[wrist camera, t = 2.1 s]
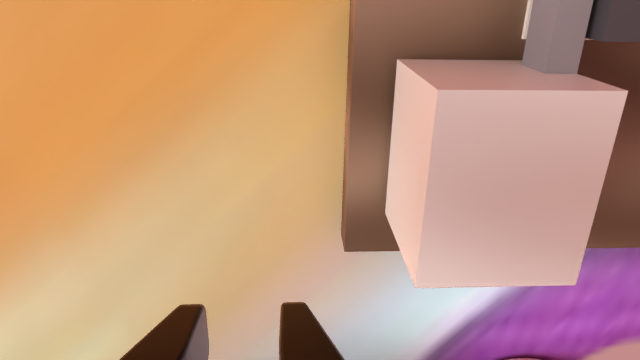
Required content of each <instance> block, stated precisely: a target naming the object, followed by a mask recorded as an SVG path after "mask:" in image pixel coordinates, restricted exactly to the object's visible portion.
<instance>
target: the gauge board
mask: <svg viewBox="0 0 640 360" xmlns="http://www.w3.org/2000/svg"><path fill="white" fill-rule="evenodd" d="M532 4H533V0H350V22H349V47H348V73H347V99H346V124H345V150H344V175H343V201H342V226H341V236H342V241H343V246H344V251H345V252H358V251H400V249H399V247H398V244H397V242H396V239H395V237H394V234H393V232H392V229H391V227H390V224H389V222H388V219H387V217H386V214H385V208H386V195H387V182H388V169H389V157H390V144H391V131H392V118H393V106H394V93H395V80H396V67H397V59H432V60H523V54H524V49H525V43H526V37H527V32H528V26H529V21H530V15H531V9H532ZM577 74H579V75H582V76H585V77H588V78H591V79H594V80H597V81H600V82H603V83H606V84H609V85H612V86H615V87H618V88H621V89H624V90H627V91H628V94H627V97H626V101H625V105H624V109H623V112H622V116H621V120H620V123H619V127H618V131H617V134H616V138H615V142H614V146H613V149H612V153H611V157H610V160H609V164H608V168H607V171H606V175H605V179H604V183H603V186H602V190H601V194H600V197H599V201H598V205H597V209H596V212H595V216H594V220H593V223H592V227H591V231H590V234H589V238H588V242H587V246H586V248H631V247H640V42H602V41H597V40H592V39H587V38H585V40H584V45H583V49H582V54H581V58H580V62H579V67H578V71H577Z"/></svg>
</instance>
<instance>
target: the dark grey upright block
mask: <svg viewBox="0 0 640 360" xmlns="http://www.w3.org/2000/svg"><path fill="white" fill-rule="evenodd" d="M585 38H587V39H592V40H597V41H602V42H640V0H593V5H592V9H591V14H590V18H589V22H588V27H587V31H586V36H585Z"/></svg>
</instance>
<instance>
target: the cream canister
mask: <svg viewBox="0 0 640 360" xmlns="http://www.w3.org/2000/svg"><path fill="white" fill-rule="evenodd" d="M506 360H540V359H534V358H513V359H506Z"/></svg>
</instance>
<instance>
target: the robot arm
mask: <svg viewBox="0 0 640 360" xmlns="http://www.w3.org/2000/svg"><path fill="white" fill-rule="evenodd" d="M208 355H209V339H208V328H207V317H206V309H205V307H204V306H203V305H202V304H185V305H180V306H178V307H177V308H176V309H175V310H174V311H172V312H171V313H170V314H169V315H168V316H167V317H166V318H165V319H164V320H162V321H161V322H160V323H159V324H158V325H157V326H156V327H155V328H154V329H153V330H151V331H150V332H149V333H148V334H147V335H146V336H145V337H144V338H143V339H142V340H140V341H139V342H138V343H137V344H136V345H135V346H134V347H133V348H132V349H131V350H129V351H128V352H127V353H126V354H125V355H124V356H123V357H122V358H121V359H120V360H208ZM279 360H345V359H344V358H343V357H342V355H341V354H340V352H339V351H338V349H337V348H336V346H335V345H334V344H333V342H332V341H331V339H330V338H329V336H328V335H327V333H326V332H325V331H324V329H323V328H322V326H321V325H320V323H319V322H318V320H317V319H316V318H315V316H314V315H313V313H312V312H311V310H310V309H309V307H308V306H307V305H306V304H305V303H304V302H286V303H283V304H282V305H281V314H280V336H279Z"/></svg>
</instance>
